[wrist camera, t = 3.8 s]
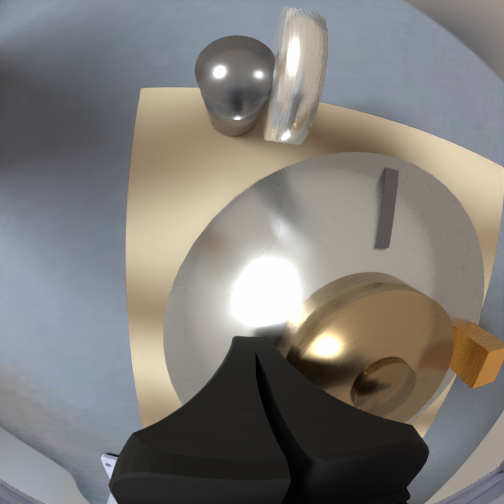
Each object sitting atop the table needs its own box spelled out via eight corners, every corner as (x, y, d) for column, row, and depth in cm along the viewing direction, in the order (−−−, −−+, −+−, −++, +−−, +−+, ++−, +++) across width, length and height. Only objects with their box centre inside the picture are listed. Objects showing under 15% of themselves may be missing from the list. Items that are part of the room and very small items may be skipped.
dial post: (271, 162, 11) (323, 130, 5) (205, 156, 11) (169, 114, 4) (278, 83, 11) (328, -13, 4) (215, 76, 10) (201, -28, 4)
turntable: (416, 428, 15) (443, 466, 11) (176, 444, 13) (167, 501, 9) (490, 193, 11) (547, 201, 7) (179, 131, 10) (149, 100, 6)
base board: (419, 432, 16) (423, 437, 16) (150, 446, 15) (148, 453, 14) (498, 168, 12) (504, 168, 12) (145, 92, 10) (141, 88, 10)
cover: (397, 400, 12) (423, 437, 9) (266, 414, 12) (275, 465, 9) (437, 274, 11) (483, 297, 8) (286, 267, 10) (307, 300, 7)
